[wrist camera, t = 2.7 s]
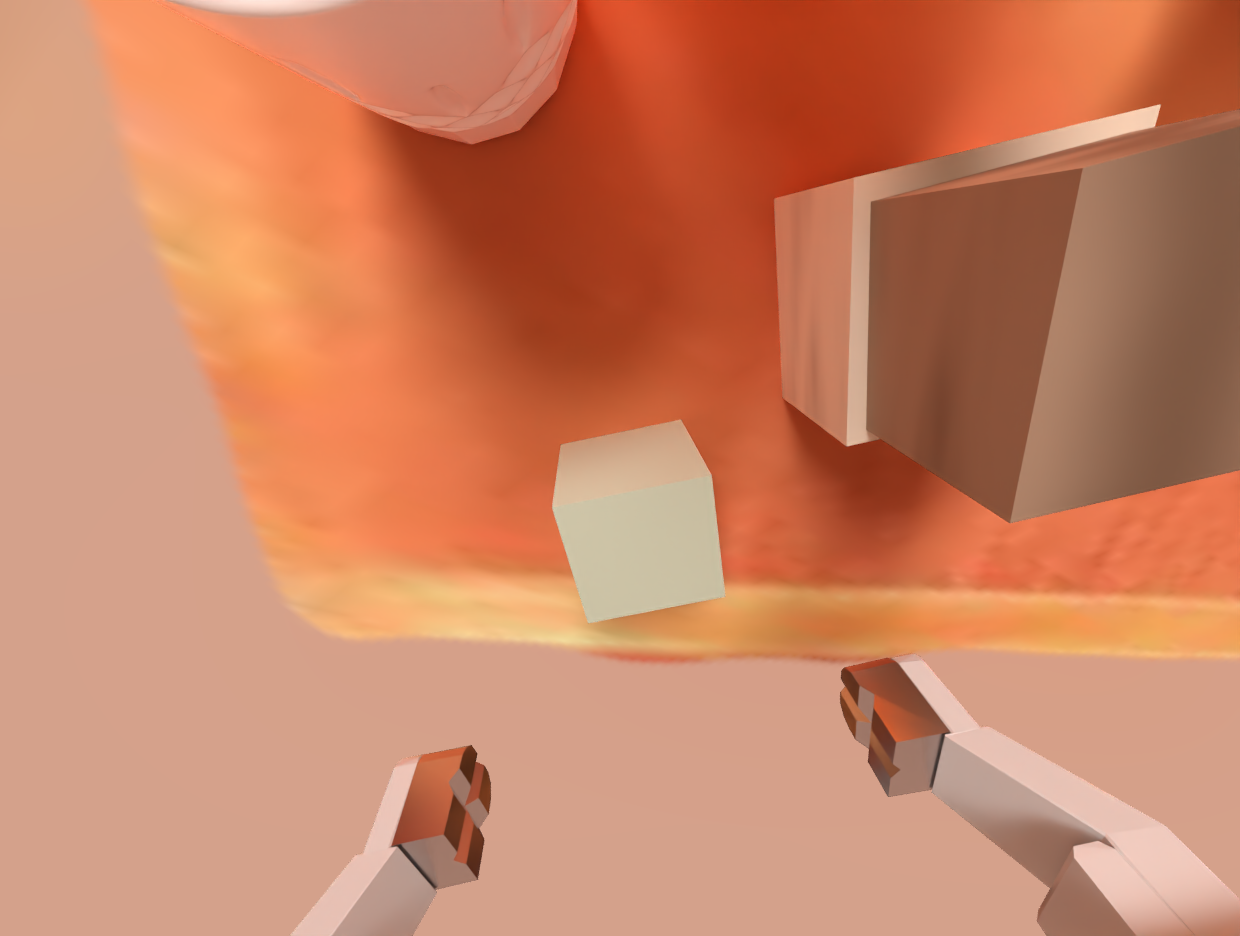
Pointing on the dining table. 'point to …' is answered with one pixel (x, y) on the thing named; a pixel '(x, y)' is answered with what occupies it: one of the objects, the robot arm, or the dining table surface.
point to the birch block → (839, 267)
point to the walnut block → (1064, 321)
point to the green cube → (638, 521)
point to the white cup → (410, 54)
